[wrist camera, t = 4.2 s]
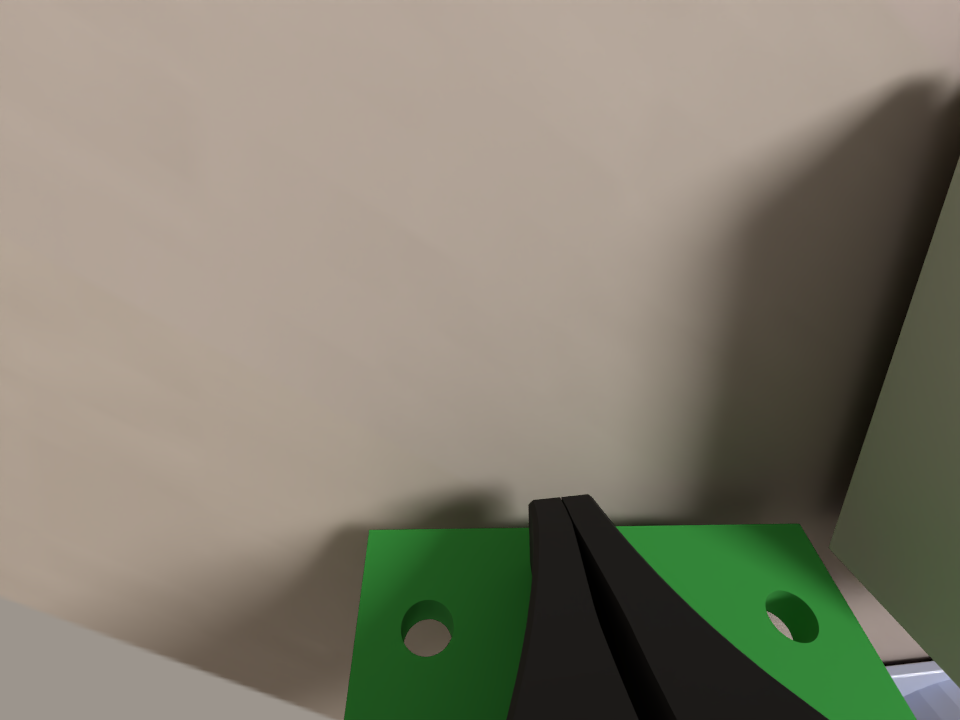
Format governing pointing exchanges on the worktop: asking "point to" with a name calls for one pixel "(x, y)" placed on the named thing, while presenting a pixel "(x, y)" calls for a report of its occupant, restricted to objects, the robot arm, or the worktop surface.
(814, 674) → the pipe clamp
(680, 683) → the robot arm
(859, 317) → the worktop surface
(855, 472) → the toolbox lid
